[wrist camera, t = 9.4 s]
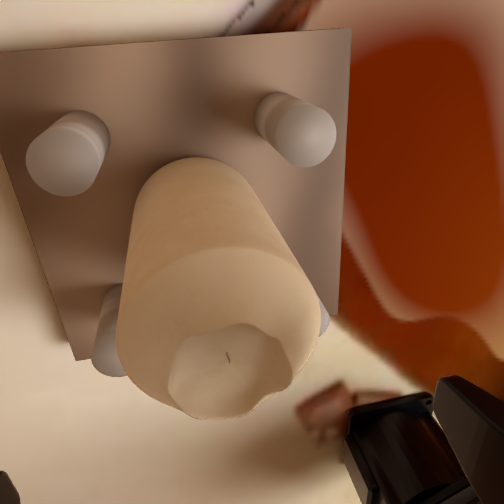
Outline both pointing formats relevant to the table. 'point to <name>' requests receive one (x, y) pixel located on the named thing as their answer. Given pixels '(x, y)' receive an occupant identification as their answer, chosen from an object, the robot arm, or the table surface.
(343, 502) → the table surface
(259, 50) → the peg holder
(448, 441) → the robot arm
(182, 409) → the candle
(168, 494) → the table surface
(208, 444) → the table surface
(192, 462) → the table surface
